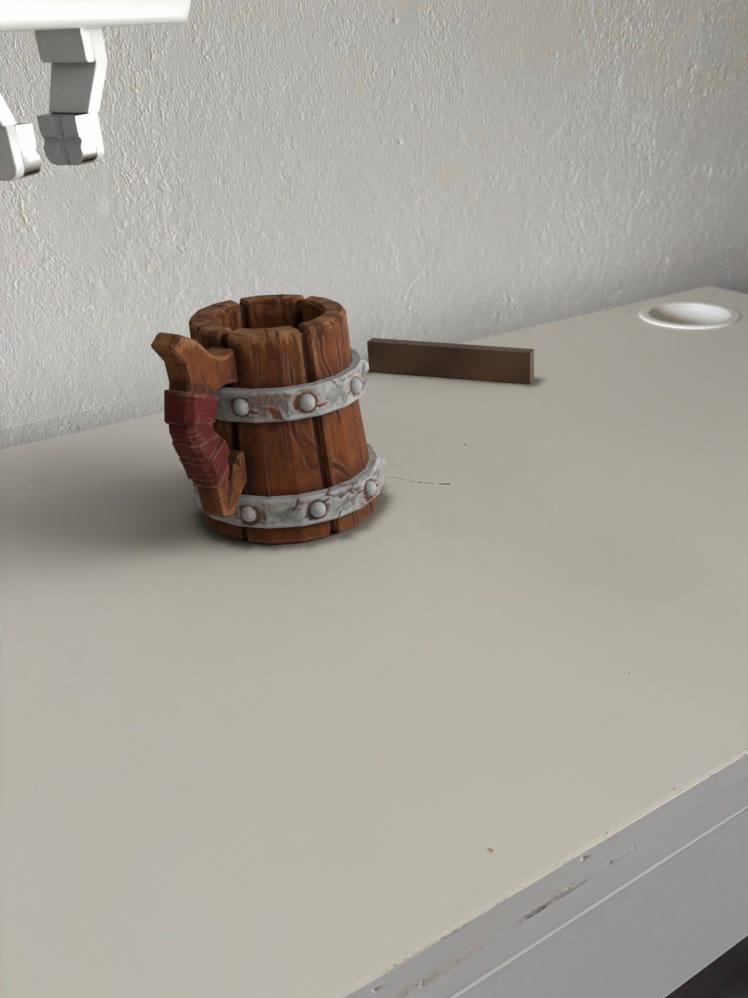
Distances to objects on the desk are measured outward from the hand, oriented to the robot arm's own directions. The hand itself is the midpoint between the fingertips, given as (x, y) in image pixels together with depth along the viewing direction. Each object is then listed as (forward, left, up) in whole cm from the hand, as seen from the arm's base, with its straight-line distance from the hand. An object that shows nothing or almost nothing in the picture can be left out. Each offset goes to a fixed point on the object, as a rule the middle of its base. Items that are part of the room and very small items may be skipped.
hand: (45, 170), depth 40 cm
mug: (0, +14, -21) cm, 25 cm away
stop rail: (+1, +43, -21) cm, 48 cm away
